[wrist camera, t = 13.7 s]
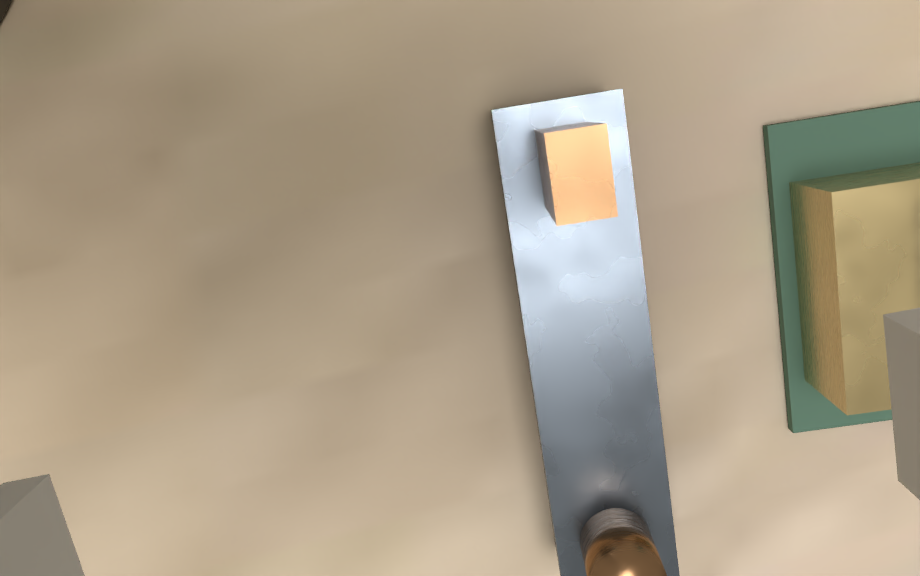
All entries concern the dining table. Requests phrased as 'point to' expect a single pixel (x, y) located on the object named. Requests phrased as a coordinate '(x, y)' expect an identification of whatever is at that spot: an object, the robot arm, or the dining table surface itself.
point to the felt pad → (788, 160)
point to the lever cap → (854, 277)
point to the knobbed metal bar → (588, 332)
